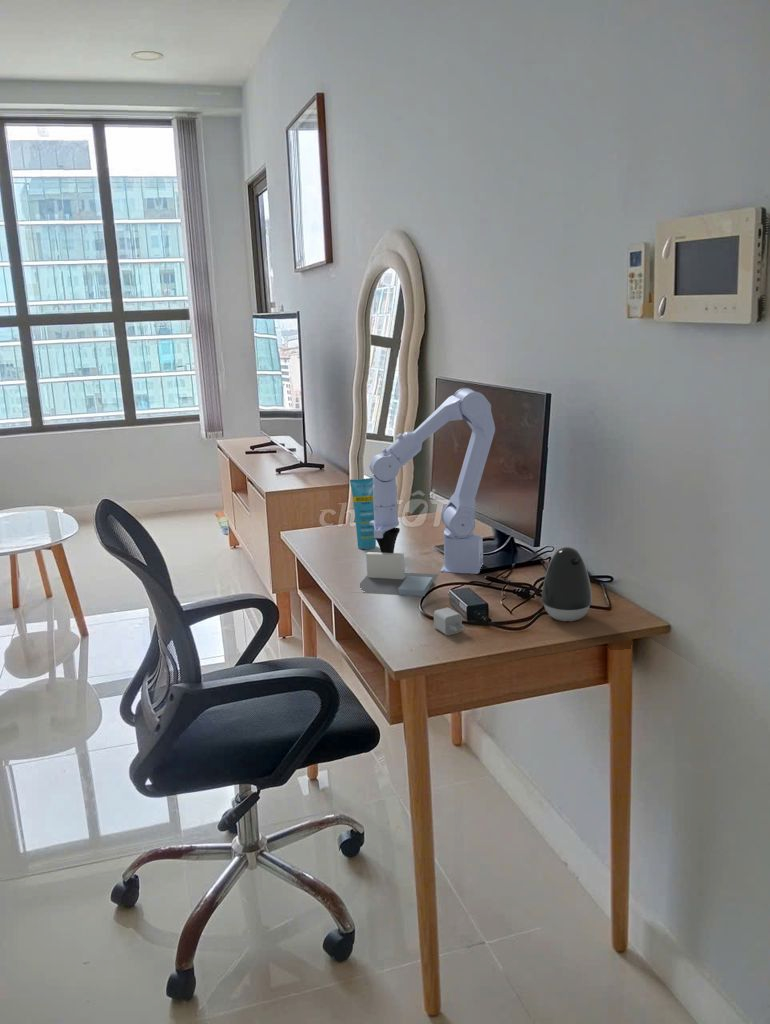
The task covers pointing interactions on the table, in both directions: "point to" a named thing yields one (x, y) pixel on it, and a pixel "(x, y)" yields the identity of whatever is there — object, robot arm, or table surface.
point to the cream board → (385, 565)
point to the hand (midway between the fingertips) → (387, 558)
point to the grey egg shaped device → (567, 586)
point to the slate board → (415, 586)
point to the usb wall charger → (448, 621)
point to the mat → (387, 584)
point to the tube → (363, 511)
